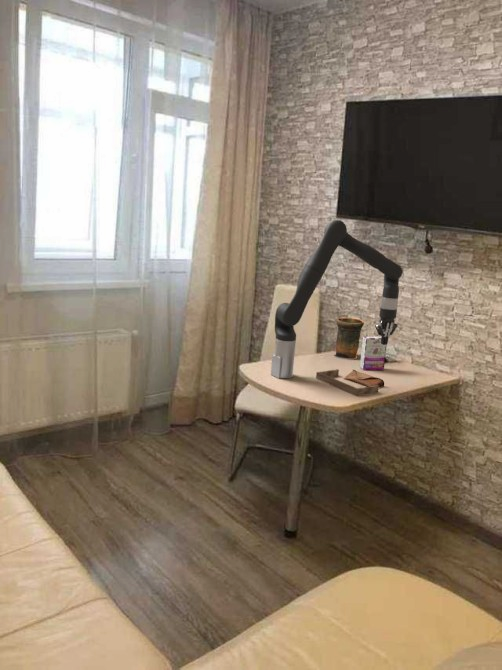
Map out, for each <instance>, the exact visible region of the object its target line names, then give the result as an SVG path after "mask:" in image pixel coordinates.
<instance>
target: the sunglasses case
mask: <svg viewBox="0 0 502 670" xmlns="http://www.w3.org/2000/svg"><path fill="white" fill-rule="evenodd" d="M343 380H344V381H345V380H346V381H348V382H352V383H354V384H357V385H360V386H362V387H369V386H374V385H379V389H380V388H382V387H383V388H384V386H385V381H384V380H383V379H382V378H380V377H376V376H373V375H370V374H366V373H363V372H360V371H357V370H355V369H352V371H351V372H350V373H348V374H347V375H346V376H345V377H344V378H343Z"/></svg>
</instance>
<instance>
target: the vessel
mask: <svg viewBox="0 0 502 670" xmlns="http://www.w3.org/2000/svg"><path fill="white" fill-rule="evenodd" d="M364 324H365V322H364V320H362V319H358V318H354V317H338V319H337V320H336V326H337V328H338V329H337V334H336V335H337V336H336V340H335V341H336V342H335V344H336V346H335V353H334V355H333V356H334V357H336V358H339V359H341V360H352V361H353V360H356V359H357V358H356V357H358V356H357V355H358V354H357V353H358V350H359V344H360V339H361V332H362V328H363V327H364Z"/></svg>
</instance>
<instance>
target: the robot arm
mask: <svg viewBox="0 0 502 670" xmlns="http://www.w3.org/2000/svg"><path fill="white" fill-rule="evenodd" d="M347 231H348V228H347V225H346V224H345V223H344V221H342V220H339V219H338V220H337V219H336V220H332V221H331V222H329V223H328V224H327V225H326V226H325V228H324V232H323V237H322V238H321V240H320V243H319V245H318V246H317V247H316V249H315V250H314V252H313V253H312V254H311V255H310V256H309V258H308V259H307V261H306V263H305V264H304V266H303V268H302V270H301V272H300V274H299V276H298V281H297V285H296V290H295V294H294V295H293V296H292V297H293V298H292V299H291V301H290V302H289V303H288V302H283V303H280V304H279V305H278V306H277V307H276V310H275V313H274V314H275V316H274V333H275V342H274V353H273V354H272V355H271V367H270V375H271V376H273V377H275V378H277V379H291V378H293V373H294V367H295V366H294V362H295V354H296V353H295V352H296V343H297V342H296V341H297V333H296V331H295V328H294V326H296V325H297V324H298V323H299V322H300V320H301V319H302V316H303V314H304V312H305V309H306V307H307V305H308V303H309V302H310V301H309V300H310V299H311V297H312V296H313V294H314V292H315V291H316V288H317V286H318V285H319V283H320V282H321V280H322V278H323V276H324V274H325V272H326V270H327V268H328V266H329V264H330V263H331V260H332V258H333V255H334V253H335V251H336V250H337V248H338V247H341V248H342V249H345V250H346V251H348V252H349V253H352V254H353V255H354V256H356V257H357V258H359V259H360V260H362V261H363V262H365V263H366V264H368V265H369V266H371V267H373V268H374V269H376V270H378V271H379V272H380V273H382V274H383V288H382V296H381V301H380V306H379V315H378V316H379V318H380V319H379V322H378V324H375V325H374V328H375V330H376V332H377V334H378V336H381V344H382V345H388V344H389V337H390V336H392V335H393V334H394V333H395V331H396V329H397V327H398V325H399V324H398V323H395V320H396V318H397V314H398V313H397V312H398V307H399V306H398V305H399V295H400V294H399V293H400V286H399V282H400V279H401V277H402V275H403V268H402V266H401V265H399V264H398V263H396V262H395V261H393V260H391V259H390V258H388V257H386V256H385V254H383V253H382V252H380V251H379V250H377V249H375V247H373V246H372V245H371V246H370V245H369V244H367V243H364V242H362V241H361V240H359V239H356V238H355V237H353V236H352V235H351V234H349V233H348V232H347Z"/></svg>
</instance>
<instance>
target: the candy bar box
mask: <svg viewBox="0 0 502 670" xmlns="http://www.w3.org/2000/svg"><path fill="white" fill-rule="evenodd" d="M387 345H388V344H387ZM387 345H382V344H381V335H378V336H377V335H373V336H372V335H369V336H368V335H363V336H362V344H361V353H360V361H359V368H360V369H362V370H363V371H384V370H385V362H386V355H387V353H386V352H387Z"/></svg>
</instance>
